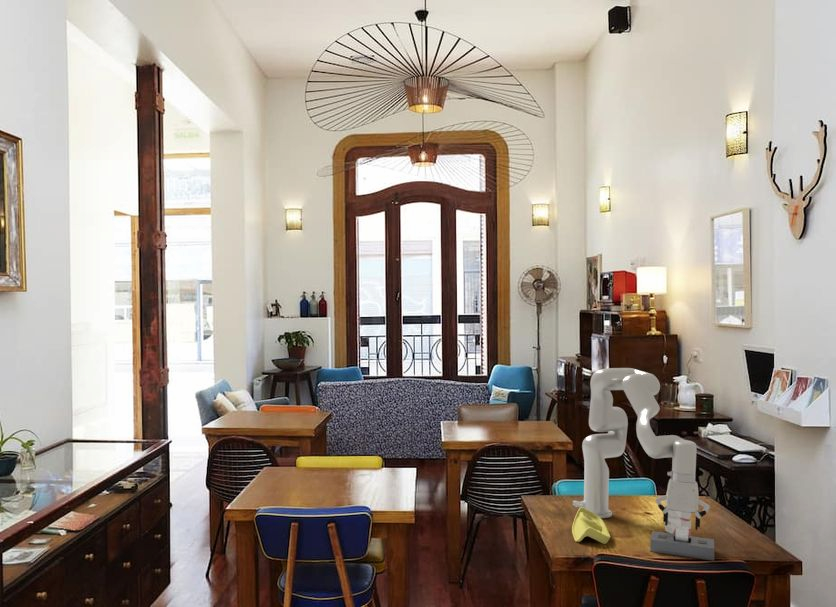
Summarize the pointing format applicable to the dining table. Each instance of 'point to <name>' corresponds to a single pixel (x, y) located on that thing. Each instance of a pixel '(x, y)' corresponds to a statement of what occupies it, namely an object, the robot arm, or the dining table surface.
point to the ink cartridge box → (677, 520)
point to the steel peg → (682, 534)
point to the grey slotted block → (682, 546)
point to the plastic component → (589, 526)
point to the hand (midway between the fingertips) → (681, 526)
